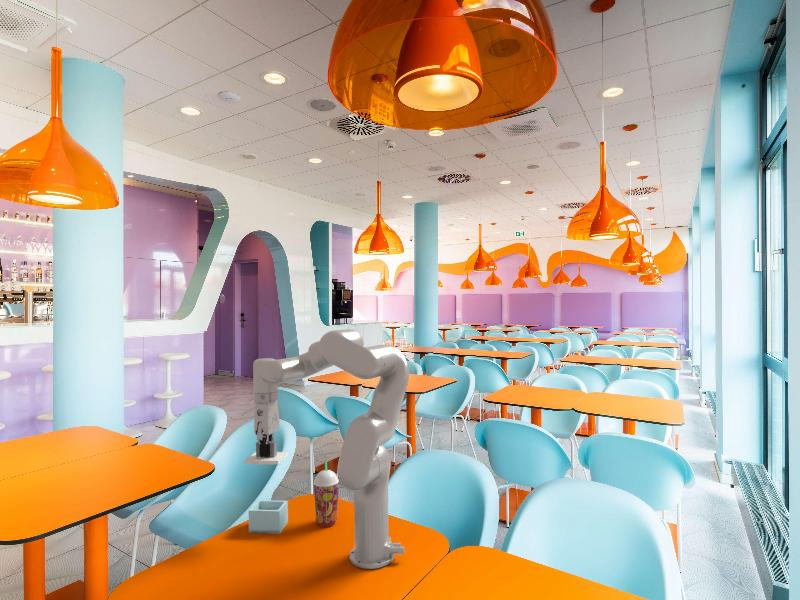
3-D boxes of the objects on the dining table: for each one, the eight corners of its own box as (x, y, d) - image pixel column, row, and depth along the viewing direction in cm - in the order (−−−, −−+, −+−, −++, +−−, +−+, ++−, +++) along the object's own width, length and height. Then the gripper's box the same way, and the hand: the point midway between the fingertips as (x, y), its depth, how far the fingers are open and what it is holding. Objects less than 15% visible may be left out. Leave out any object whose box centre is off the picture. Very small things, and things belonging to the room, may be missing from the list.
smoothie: (312, 519, 157) (311, 459, 157) (337, 516, 160) (336, 456, 160) (315, 530, 149) (314, 467, 150) (341, 526, 152) (340, 464, 152)
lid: (288, 457, 155) (287, 438, 155) (278, 466, 146) (277, 446, 146) (255, 457, 156) (255, 438, 156) (244, 466, 147) (243, 445, 147)
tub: (288, 522, 156) (287, 500, 156) (279, 533, 148) (279, 511, 148) (258, 521, 156) (258, 500, 157) (248, 532, 148) (248, 510, 149)
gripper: (267, 402, 143) (268, 463, 142) (285, 392, 159) (286, 447, 158) (243, 402, 144) (244, 462, 143) (264, 392, 159) (265, 447, 159)
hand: (266, 454), depth 151 cm, fingers closed on lid
